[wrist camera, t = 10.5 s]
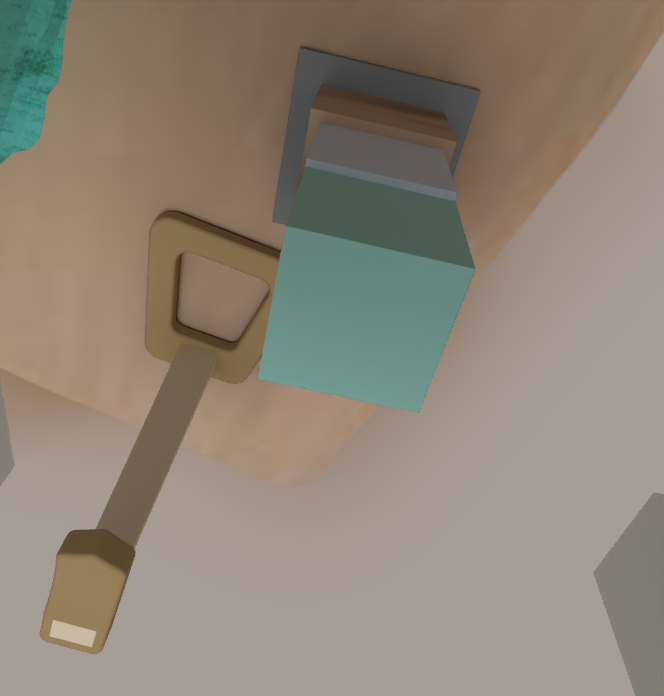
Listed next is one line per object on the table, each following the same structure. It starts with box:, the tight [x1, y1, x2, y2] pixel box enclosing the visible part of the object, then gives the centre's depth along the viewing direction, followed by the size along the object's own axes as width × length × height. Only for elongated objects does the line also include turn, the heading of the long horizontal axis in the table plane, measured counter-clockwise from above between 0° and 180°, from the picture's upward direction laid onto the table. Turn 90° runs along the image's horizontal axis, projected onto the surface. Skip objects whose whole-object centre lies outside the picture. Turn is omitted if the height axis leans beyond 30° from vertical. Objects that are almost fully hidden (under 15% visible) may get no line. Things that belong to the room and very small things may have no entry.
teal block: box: [258, 166, 475, 413], centre depth 22 cm, size 6×6×6 cm
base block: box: [296, 84, 457, 194], centre depth 32 cm, size 7×7×6 cm
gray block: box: [305, 122, 457, 201], centre depth 27 cm, size 6×6×6 cm
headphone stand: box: [40, 212, 281, 654], centre depth 32 cm, size 10×11×22 cm
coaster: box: [272, 47, 480, 225], centre depth 35 cm, size 10×10×1 cm
